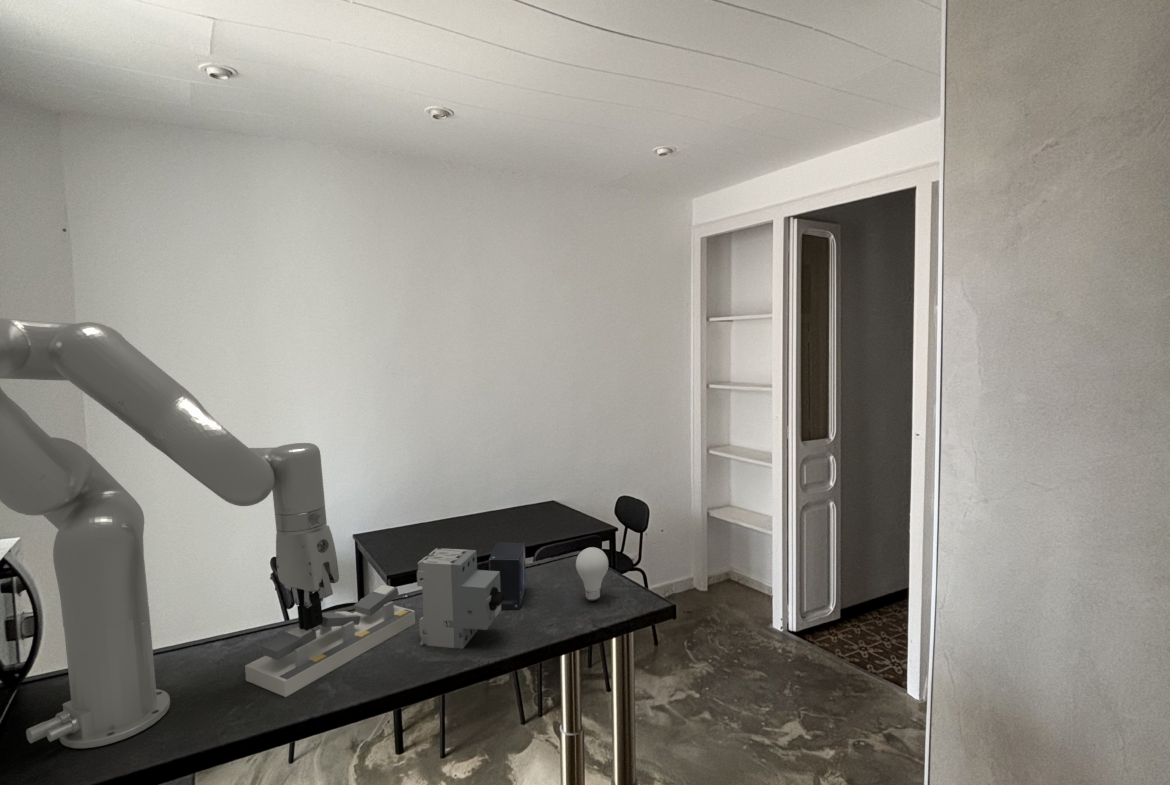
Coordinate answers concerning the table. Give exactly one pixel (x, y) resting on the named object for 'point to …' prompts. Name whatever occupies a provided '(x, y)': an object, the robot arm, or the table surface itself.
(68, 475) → the robot arm
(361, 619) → the switch unit
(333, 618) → the rocker
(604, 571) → the light bulb
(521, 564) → the small box
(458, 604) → the circuit breaker
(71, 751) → the table surface
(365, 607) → the rocker
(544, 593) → the table surface
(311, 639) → the rocker
